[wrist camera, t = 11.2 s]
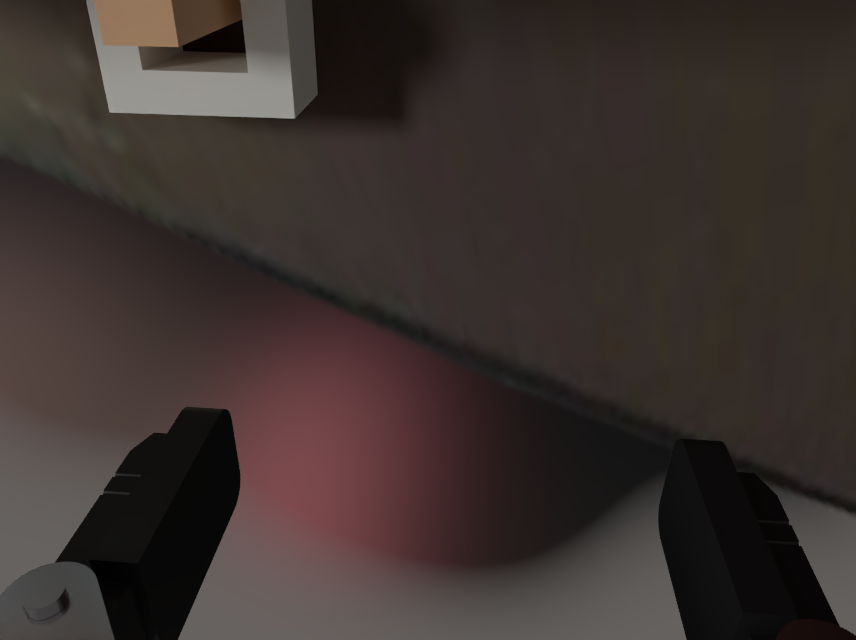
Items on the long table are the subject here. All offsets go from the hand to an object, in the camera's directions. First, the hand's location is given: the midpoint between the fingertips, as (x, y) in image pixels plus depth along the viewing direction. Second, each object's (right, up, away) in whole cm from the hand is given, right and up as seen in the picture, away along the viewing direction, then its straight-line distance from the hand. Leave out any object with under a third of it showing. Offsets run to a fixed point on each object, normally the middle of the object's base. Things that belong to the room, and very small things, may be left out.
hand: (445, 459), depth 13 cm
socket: (-11, +19, +23) cm, 31 cm away
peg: (-11, +19, +22) cm, 31 cm away
